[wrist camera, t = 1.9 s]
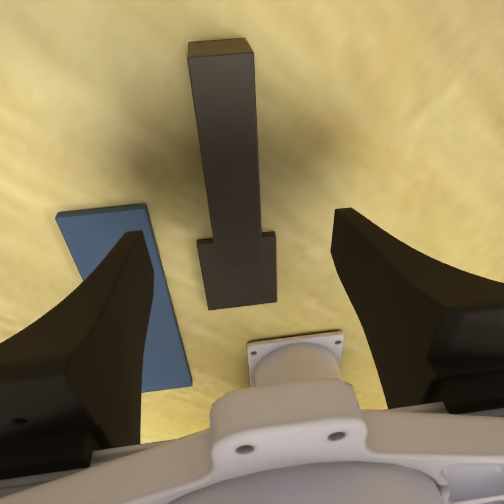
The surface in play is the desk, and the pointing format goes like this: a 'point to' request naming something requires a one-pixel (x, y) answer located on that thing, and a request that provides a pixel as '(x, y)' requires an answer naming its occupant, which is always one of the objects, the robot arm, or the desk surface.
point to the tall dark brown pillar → (231, 176)
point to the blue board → (162, 313)
